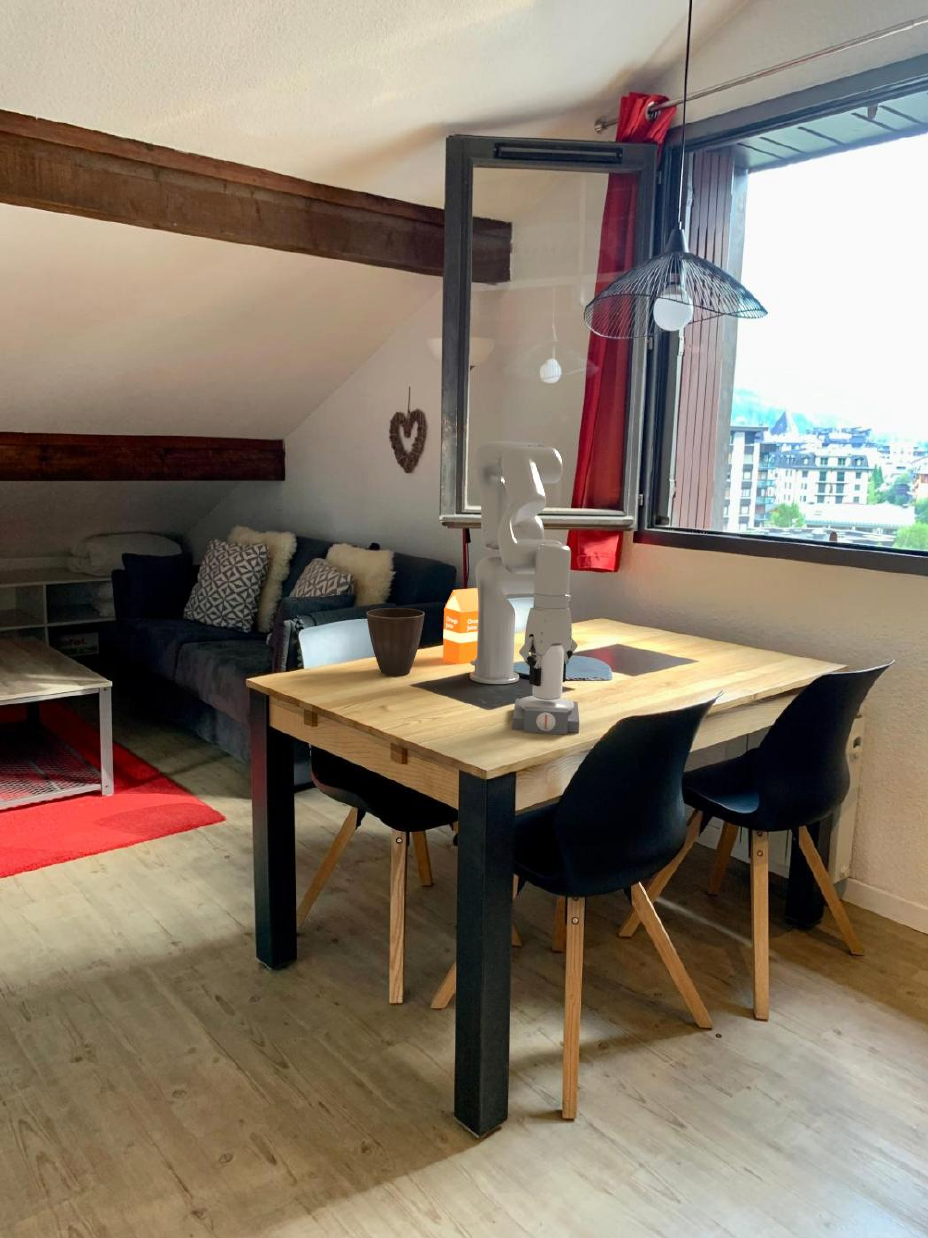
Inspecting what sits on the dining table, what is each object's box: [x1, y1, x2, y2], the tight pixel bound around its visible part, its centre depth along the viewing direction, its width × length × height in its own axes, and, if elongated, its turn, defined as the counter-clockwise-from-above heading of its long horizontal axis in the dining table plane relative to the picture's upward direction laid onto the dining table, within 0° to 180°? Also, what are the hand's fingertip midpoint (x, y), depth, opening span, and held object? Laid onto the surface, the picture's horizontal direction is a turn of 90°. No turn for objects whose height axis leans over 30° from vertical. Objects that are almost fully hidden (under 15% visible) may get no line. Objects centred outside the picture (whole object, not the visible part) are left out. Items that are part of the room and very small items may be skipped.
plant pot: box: [365, 607, 425, 677], centre depth 246 cm, size 15×15×16 cm
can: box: [532, 644, 564, 700], centre depth 206 cm, size 6×6×12 cm
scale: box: [511, 695, 580, 735], centre depth 206 cm, size 18×14×5 cm
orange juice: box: [442, 587, 478, 665], centre depth 263 cm, size 8×9×20 cm
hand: (547, 682), depth 207 cm, fingers closed on can, 6 cm apart
